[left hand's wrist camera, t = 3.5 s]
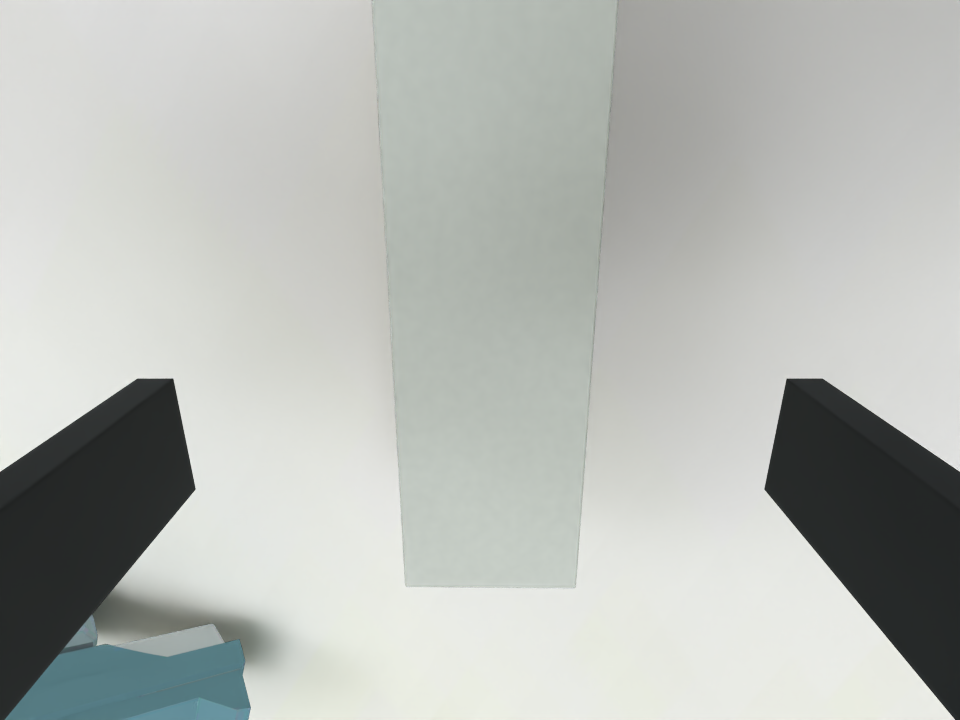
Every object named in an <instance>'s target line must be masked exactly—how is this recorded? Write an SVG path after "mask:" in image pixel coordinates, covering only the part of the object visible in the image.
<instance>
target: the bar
mask: <svg viewBox="0 0 960 720" xmlns="http://www.w3.org/2000/svg"><path fill="white" fill-rule="evenodd" d="M618 2H619V0H372V12H373V29H374V47H375V64H376V82H377V100H378V117H379V135H380V152H381V170H382V187H383V205H384V222H385V240H386V258H387V275H388V293H389V310H390V328H391V345H392V363H393V380H394V398H395V416H396V433H397V451H398V468H399V486H400V503H401V521H402V539H403V556H404V574H405V585H406V587H475V588H575V587H576V577H577V563H578V550H579V536H580V522H581V509H582V495H583V481H584V468H585V454H586V440H587V426H588V413H589V399H590V385H591V372H592V358H593V344H594V331H595V317H596V303H597V289H598V276H599V262H600V248H601V235H602V221H603V207H604V194H605V180H606V166H607V153H608V139H609V125H610V111H611V98H612V84H613V70H614V57H615V43H616V29H617V16H618Z"/></svg>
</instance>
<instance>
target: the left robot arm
mask: <svg viewBox="0 0 960 720" xmlns="http://www.w3.org/2000/svg"><path fill="white" fill-rule="evenodd" d="M194 491H195V484H194V479H193V474H192V469H191V464H190V459H189V454H188V449H187V445H186V440H185V435H184V430H183V425H182V420H181V415H180V410H179V405H178V400H177V395H176V390H175V385H174V380H173V379H136V380H135V381H133V382H132V383H130V384H129V385H127V386H126V387H125V388H123V389H122V390H120V391H119V392H117V393H116V394H114V395H113V396H111V397H110V398H108V399H107V400H105V401H104V402H102V403H101V404H99V405H98V406H97V407H95V408H94V409H92V410H91V411H89V412H88V413H86V414H85V415H83V416H82V417H80V418H79V419H77V420H76V421H74V422H73V423H72V424H70V425H69V426H67V427H66V428H64V429H63V430H61V431H60V432H58V433H57V434H55V435H54V436H52V437H51V438H49V439H48V440H47V441H45V442H44V443H42V444H41V445H39V446H38V447H36V448H35V449H33V450H32V451H30V452H29V453H27V454H26V455H24V456H23V457H22V458H20V459H19V460H17V461H16V462H14V463H13V464H11V465H10V466H8V467H7V468H5V469H4V470H2V471H1V472H0V720H5V719H6V718H7V716H8V715H9V714H10V713H11V712H12V710H13V709H14V708H15V707H16V705H17V704H18V703H19V702H20V701H21V699H22V698H23V697H24V696H25V695H26V693H27V692H28V691H29V690H30V689H31V687H32V686H33V685H34V684H35V683H36V681H37V680H38V679H39V678H40V677H41V675H42V674H43V673H44V672H45V670H46V669H47V668H48V667H49V666H50V664H51V663H52V662H53V661H54V660H55V658H56V657H57V656H58V655H59V654H60V652H61V651H62V650H63V649H64V648H65V646H66V645H67V644H68V643H69V641H70V640H71V639H72V638H73V637H74V635H75V634H76V633H77V632H78V631H79V629H80V628H81V627H82V626H83V625H84V623H85V622H86V621H87V620H88V619H89V617H90V616H91V615H92V614H93V613H94V611H95V610H96V609H97V608H98V606H99V605H100V604H101V603H102V602H103V600H104V599H105V598H106V597H107V596H108V594H109V593H110V592H111V591H112V590H113V588H114V587H115V586H116V585H117V584H118V582H119V581H120V580H121V579H122V578H123V576H124V575H125V574H126V573H127V571H128V570H129V569H130V568H131V567H132V565H133V564H134V563H135V562H136V561H137V559H138V558H139V557H140V556H141V555H142V553H143V552H144V551H145V550H146V549H147V547H148V546H149V545H150V544H151V542H152V541H153V540H154V539H155V538H156V536H157V535H158V534H159V533H160V532H161V530H162V529H163V528H164V527H165V526H166V524H167V523H168V522H169V521H170V520H171V518H172V517H173V516H174V515H175V514H176V512H177V511H178V510H179V509H180V507H181V506H182V505H183V504H184V503H185V501H186V500H187V499H188V498H189V497H190V495H191V494H192V493H193V492H194ZM765 491H766V492H767V493H768V494H769V495H770V497H771V498H772V499H773V500H774V501H775V503H776V504H777V505H778V506H779V507H780V509H781V510H782V511H783V512H784V514H785V515H786V516H787V517H788V518H789V520H790V521H791V522H792V523H793V524H794V526H795V527H796V528H797V529H798V530H799V532H800V533H801V534H802V535H803V536H804V538H805V539H806V540H807V541H808V542H809V544H810V545H811V546H812V547H813V549H814V550H815V551H816V552H817V553H818V555H819V556H820V557H821V558H822V559H823V561H824V562H825V563H826V564H827V565H828V567H829V568H830V569H831V570H832V571H833V573H834V574H835V575H836V576H837V578H838V579H839V580H840V581H841V582H842V584H843V585H844V586H845V587H846V588H847V590H848V591H849V592H850V593H851V594H852V596H853V597H854V598H855V599H856V600H857V602H858V603H859V604H860V605H861V606H862V608H863V609H864V610H865V611H866V613H867V614H868V615H869V616H870V617H871V619H872V620H873V621H874V622H875V623H876V625H877V626H878V627H879V628H880V629H881V631H882V632H883V633H884V634H885V635H886V637H887V638H888V639H889V640H890V641H891V643H892V644H893V645H894V646H895V648H896V649H897V650H898V651H899V652H900V654H901V655H902V656H903V657H904V658H905V660H906V661H907V662H908V663H909V664H910V666H911V667H912V668H913V669H914V670H915V672H916V673H917V674H918V675H919V677H920V678H921V679H922V680H923V681H924V683H925V684H926V685H927V686H928V687H929V689H930V690H931V691H932V692H933V693H934V695H935V696H936V697H937V698H938V699H939V701H940V702H941V703H942V704H943V705H944V707H945V708H946V709H947V710H948V712H949V713H950V714H951V715H952V716H953V718H954V719H955V720H960V472H959V471H958V470H956V469H955V468H953V467H952V466H950V465H949V464H947V463H946V462H944V461H943V460H941V459H940V458H938V457H937V456H936V455H934V454H933V453H931V452H930V451H928V450H927V449H925V448H924V447H922V446H921V445H919V444H918V443H916V442H915V441H913V440H912V439H911V438H909V437H908V436H906V435H905V434H903V433H902V432H900V431H899V430H897V429H896V428H894V427H893V426H891V425H890V424H888V423H887V422H886V421H884V420H883V419H881V418H880V417H878V416H877V415H875V414H874V413H872V412H871V411H869V410H868V409H866V408H865V407H863V406H862V405H861V404H859V403H858V402H856V401H855V400H853V399H852V398H850V397H849V396H847V395H846V394H844V393H843V392H841V391H840V390H838V389H837V388H835V387H834V386H833V385H831V384H830V383H828V382H827V381H825V380H824V379H787V380H786V385H785V390H784V395H783V400H782V405H781V410H780V415H779V420H778V425H777V430H776V435H775V440H774V445H773V449H772V454H771V459H770V464H769V469H768V474H767V479H766V484H765Z"/></svg>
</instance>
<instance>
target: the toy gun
mask: <svg viewBox="0 0 960 720" xmlns="http://www.w3.org/2000/svg"><path fill="white" fill-rule="evenodd" d="M97 638H98V634H97V630H96V626H95V622H94V618H93V614H92V615H91V616H90V617H89V619H88V620H87V621H86V622H85V623H84V625H83V626H82V627H81V628H80V629H79V631H78V632H77V633H76V634H75V635H74V637H73V638H72V639H71V640H70V641H69V643H68V644H67V645H66V646H65V648H64V649H63V650H62V651H61V652H60V654H59V655H58V656H57V657H56V658H55V660H54V661H53V662H52V663H51V664H50V666H49V667H48V668H47V669H46V670H45V672H44V673H43V674H42V675H41V677H40V678H39V679H38V680H37V681H36V683H35V684H34V685H33V686H32V687H31V689H30V690H29V691H28V692H27V693H26V695H25V696H24V697H23V698H22V699H21V701H20V702H19V703H18V704H17V705H16V707H15V708H14V709H13V710H12V712H11V713H10V714H9V715H8V716H7V718H6V719H5V720H248V718H249V713H250V709H251V707H250V703H249V699H248V695H247V691H246V687H245V683H244V680H243V676H242V675H243V670H244V665H245V658H244V654H243V651H242V647H241V643H240V639H238V640H234V641H230V642H226V643H225V642H224V640H223V639H222V637H221V635H220V634H219V632H218V630H217V629H216V627H215V625H213V624H207V625H203V626H199V627H194V628H190V629H185V630H181V631H176V632H172V633H167V634H163V635H158V636H154V637H149V638H145V639H140V640H136V641H132V642H127V643H123V644H118V645H114V646H112V645H108V644H103V645H99V646H96V645H97Z"/></svg>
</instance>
